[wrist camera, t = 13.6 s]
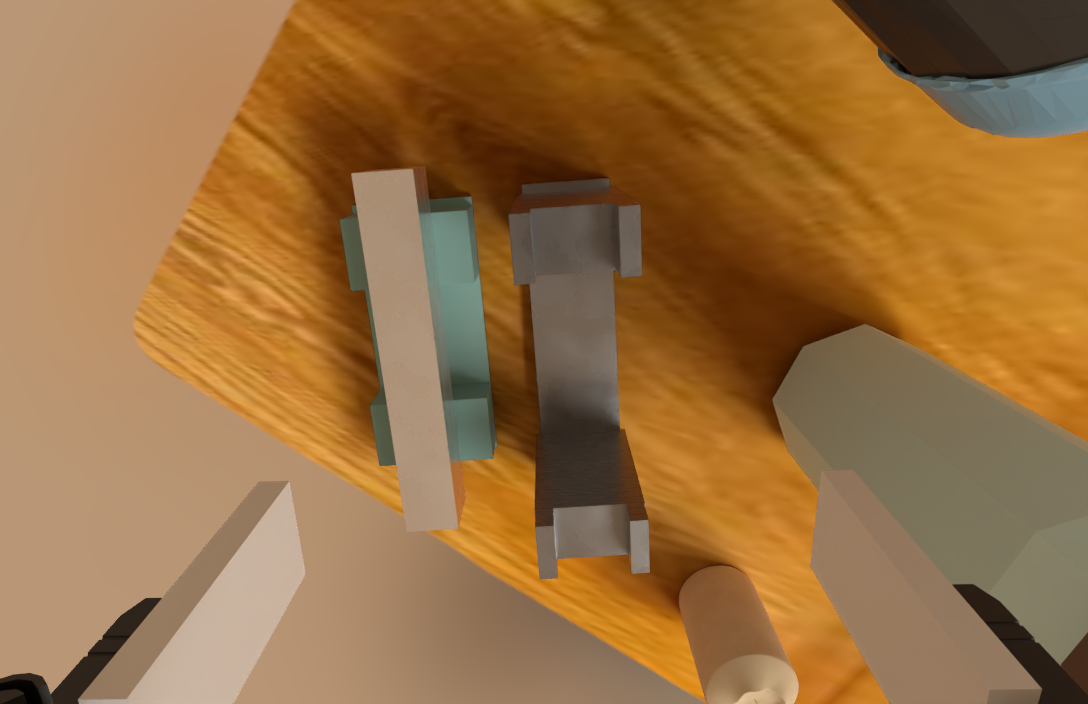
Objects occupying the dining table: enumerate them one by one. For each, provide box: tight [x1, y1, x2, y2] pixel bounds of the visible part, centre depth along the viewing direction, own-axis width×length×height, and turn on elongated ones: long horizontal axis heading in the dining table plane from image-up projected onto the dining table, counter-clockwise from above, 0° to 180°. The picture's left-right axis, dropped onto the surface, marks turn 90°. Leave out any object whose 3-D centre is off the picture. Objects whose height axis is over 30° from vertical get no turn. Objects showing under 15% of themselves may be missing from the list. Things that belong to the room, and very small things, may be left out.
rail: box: [351, 166, 465, 532], centre depth 37 cm, size 20×3×4 cm, turn 4°
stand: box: [508, 178, 650, 579], centre depth 36 cm, size 19×6×12 cm, turn 4°
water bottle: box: [772, 324, 1088, 695], centre depth 31 cm, size 10×10×25 cm
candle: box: [679, 565, 799, 704], centre depth 43 cm, size 6×6×10 cm
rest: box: [339, 196, 497, 466], centre depth 40 cm, size 16×7×3 cm, turn 4°
